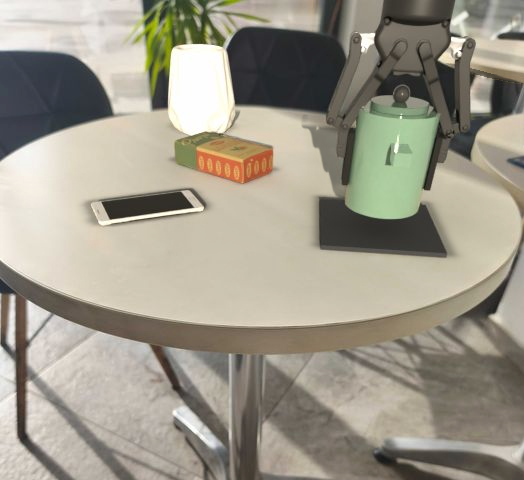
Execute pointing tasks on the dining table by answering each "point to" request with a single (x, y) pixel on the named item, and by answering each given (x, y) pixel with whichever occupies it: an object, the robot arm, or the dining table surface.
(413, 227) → the mat
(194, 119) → the vase
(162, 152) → the dining table surface
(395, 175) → the kettle
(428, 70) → the robot arm
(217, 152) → the carton
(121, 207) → the smartphone
